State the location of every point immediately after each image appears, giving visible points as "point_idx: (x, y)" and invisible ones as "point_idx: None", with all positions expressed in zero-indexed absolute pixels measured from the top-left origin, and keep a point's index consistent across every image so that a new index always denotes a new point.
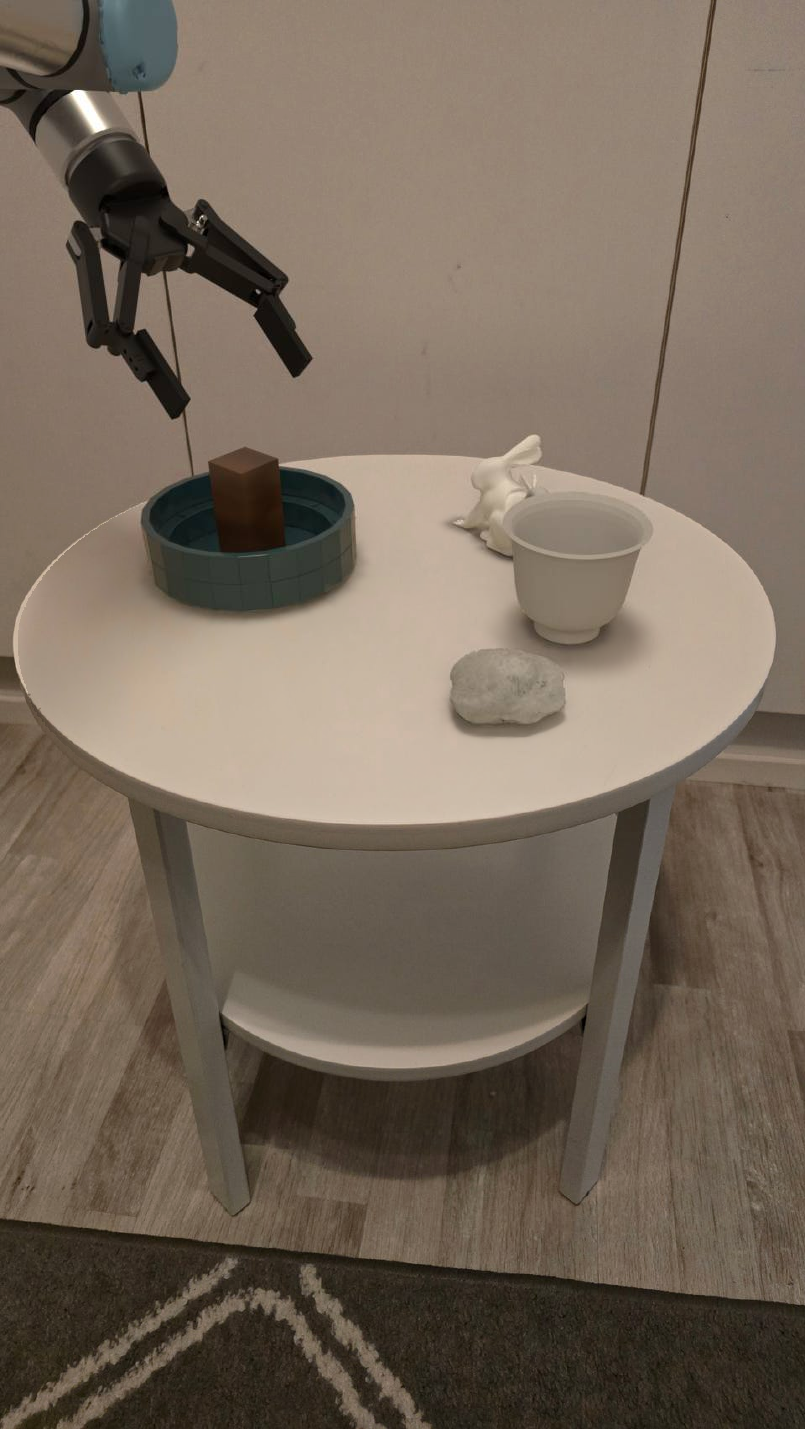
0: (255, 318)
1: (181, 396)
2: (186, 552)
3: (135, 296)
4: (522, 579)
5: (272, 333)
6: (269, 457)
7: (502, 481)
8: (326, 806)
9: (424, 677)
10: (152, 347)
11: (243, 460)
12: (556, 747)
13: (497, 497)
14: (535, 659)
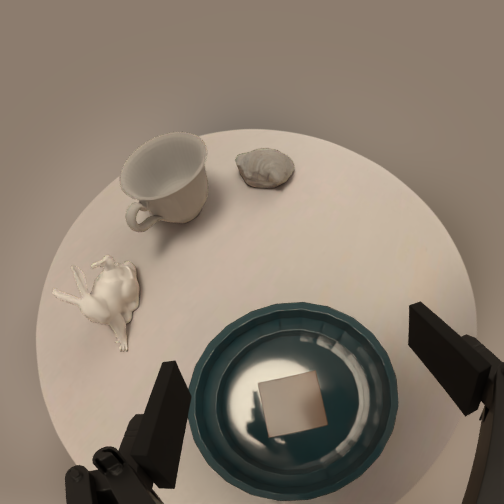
0: (174, 482)
1: (422, 306)
2: (384, 350)
3: (496, 433)
4: (204, 183)
5: (174, 438)
6: (264, 392)
7: (98, 295)
8: (373, 167)
9: (281, 211)
10: (465, 348)
11: (293, 402)
12: None
13: (112, 292)
14: (247, 154)
